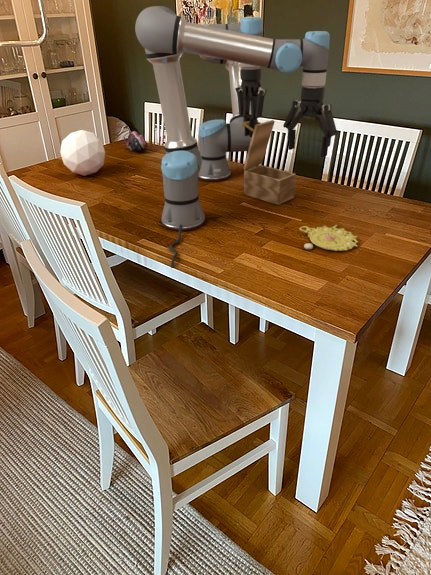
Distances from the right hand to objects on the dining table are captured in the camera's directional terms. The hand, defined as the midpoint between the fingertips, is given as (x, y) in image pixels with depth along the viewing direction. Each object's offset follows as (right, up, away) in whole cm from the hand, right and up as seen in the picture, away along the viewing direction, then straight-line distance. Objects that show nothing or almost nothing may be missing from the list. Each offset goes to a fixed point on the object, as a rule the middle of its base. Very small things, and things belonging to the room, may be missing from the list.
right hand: (250, 135), depth 170 cm
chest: (+8, -22, +5) cm, 24 cm away
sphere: (-73, -5, +35) cm, 81 cm away
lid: (+4, -4, -1) cm, 6 cm away
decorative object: (+23, -43, -28) cm, 56 cm away
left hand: (+19, -11, -15) cm, 27 cm away
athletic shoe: (-57, +15, +67) cm, 89 cm away
